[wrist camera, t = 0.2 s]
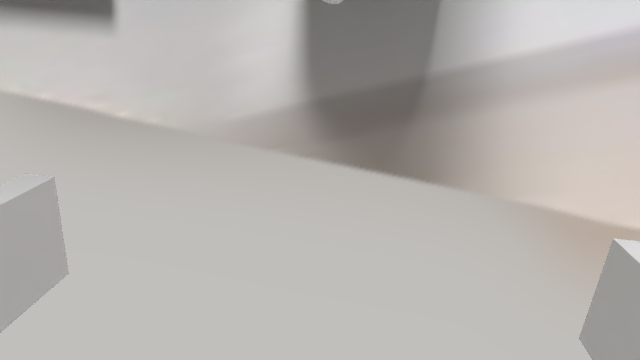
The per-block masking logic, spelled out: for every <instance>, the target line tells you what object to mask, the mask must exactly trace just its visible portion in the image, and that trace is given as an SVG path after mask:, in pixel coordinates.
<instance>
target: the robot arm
mask: <svg viewBox="0 0 640 360" xmlns="http://www.w3.org/2000/svg"><path fill="white" fill-rule="evenodd" d="M68 274H69V273H68V265H67V259H66V253H65V245H64V239H63V232H62V225H61V218H60V212H59V205H58V198H57V191H56V185H55V178H54V177H51V176H42V175H33V174H23V175H21V176H19V177H16V178H14V179H12V180H10V181H8V182H6V183H3V184H2V185H0V333H1V332H2V331H3V330H4V329H5V328H6V327H7V326H9V325H10V324H11V323H12V322H13V321H14V320H16V319H17V318H18V317H19V316H20V315H21V314H22V313H23V312H25V311H26V310H27V309H28V308H29V307H31V306H32V305H33V304H34V303H35V302H36V301H38V300H39V299H40V298H41V297H42V296H43V295H44V294H46V293H47V292H48V291H49V290H50V289H51V288H53V287H54V286H55V285H56V284H57V283H58V282H59V281H61V280H62V279H63V278H64V277H65V276H66V275H68ZM579 339H580V341H581V342H582V344H583V346H584V347H585V349H586V350H587V352H588V353H589V355H590V357H591V358H592V360H640V242H639V241H631V240H622V239H613V241H612V244H611V247H610V250H609V253H608V256H607V258H606V261H605V264H604V267H603V270H602V273H601V276H600V279H599V282H598V285H597V288H596V290H595V293H594V296H593V299H592V302H591V305H590V308H589V311H588V314H587V316H586V319H585V323H584V325H583V328H582V331H581V334H580V337H579Z"/></svg>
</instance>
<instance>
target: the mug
mask: <svg viewBox="0 0 640 360" xmlns="http://www.w3.org/2000/svg"><path fill="white" fill-rule="evenodd" d="M323 1H324V2H327V3H329V4H339V3H341V2H342V1H343V0H323Z"/></svg>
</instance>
